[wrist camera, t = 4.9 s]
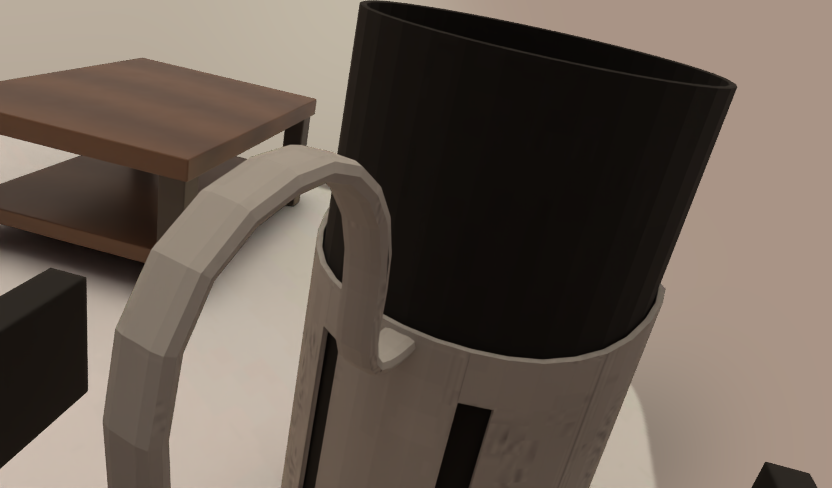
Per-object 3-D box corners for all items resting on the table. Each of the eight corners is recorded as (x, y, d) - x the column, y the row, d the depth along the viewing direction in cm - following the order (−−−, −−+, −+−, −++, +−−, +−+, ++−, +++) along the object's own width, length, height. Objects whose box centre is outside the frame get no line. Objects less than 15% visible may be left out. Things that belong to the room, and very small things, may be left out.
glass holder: (586, 541, 21) (776, 82, 15) (328, 1206, 9) (760, 244, 3) (364, 419, 24) (447, 4, 18) (-40, 788, 12) (-178, -64, 6)
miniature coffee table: (180, 308, 29) (188, 159, 26) (-60, 242, 30) (-77, 93, 27) (303, 201, 43) (316, 99, 40) (139, 159, 44) (142, 57, 42)
